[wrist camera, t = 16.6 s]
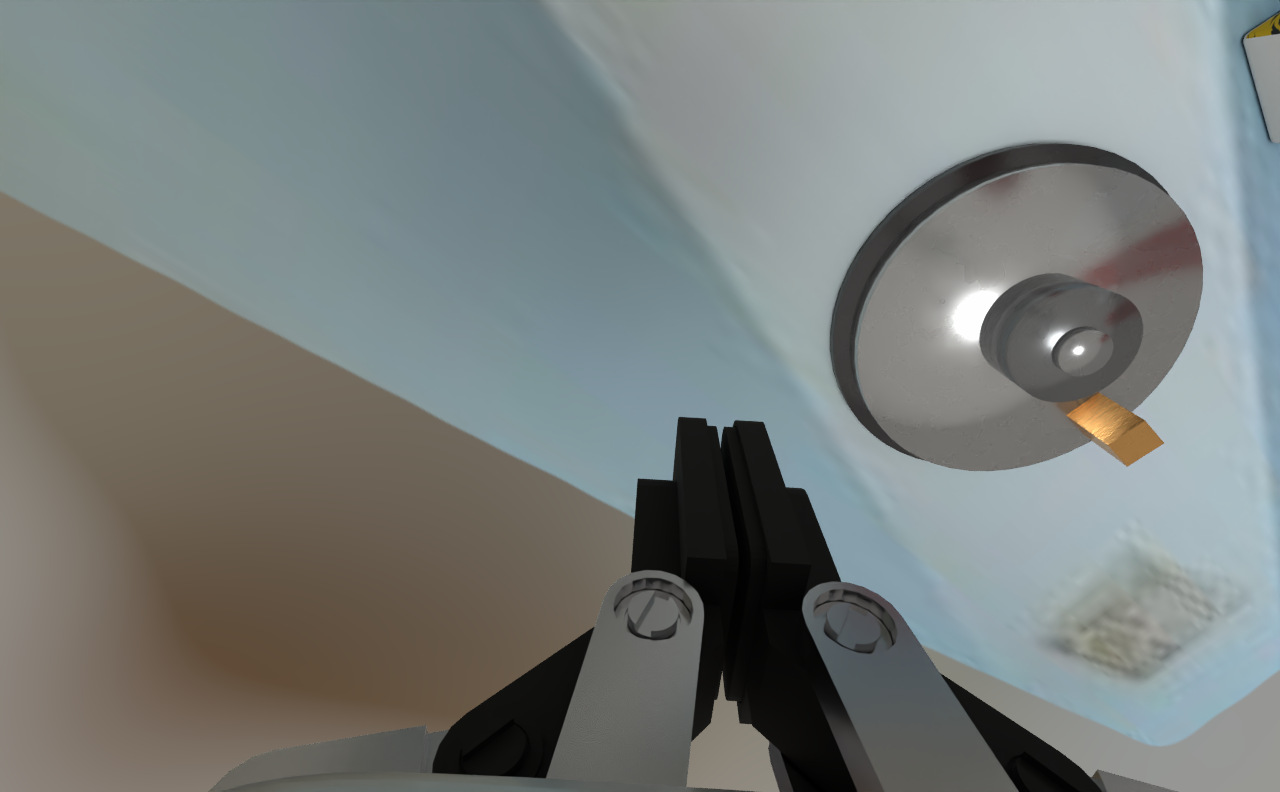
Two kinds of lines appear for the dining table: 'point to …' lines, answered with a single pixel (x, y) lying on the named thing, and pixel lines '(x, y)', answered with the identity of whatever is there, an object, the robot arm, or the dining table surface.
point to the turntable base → (912, 210)
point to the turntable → (981, 272)
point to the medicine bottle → (1266, 70)
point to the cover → (1060, 336)
